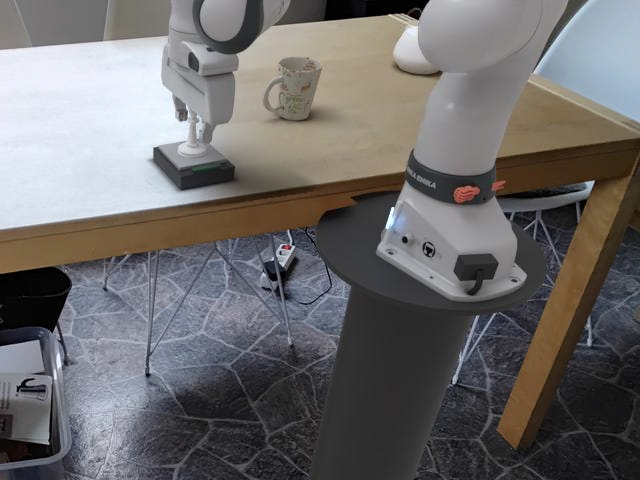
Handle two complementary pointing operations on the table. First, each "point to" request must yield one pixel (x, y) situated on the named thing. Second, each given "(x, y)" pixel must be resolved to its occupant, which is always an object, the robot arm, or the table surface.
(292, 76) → the mug
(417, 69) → the teapot
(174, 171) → the scale
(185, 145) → the chess piece
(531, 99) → the table surface
